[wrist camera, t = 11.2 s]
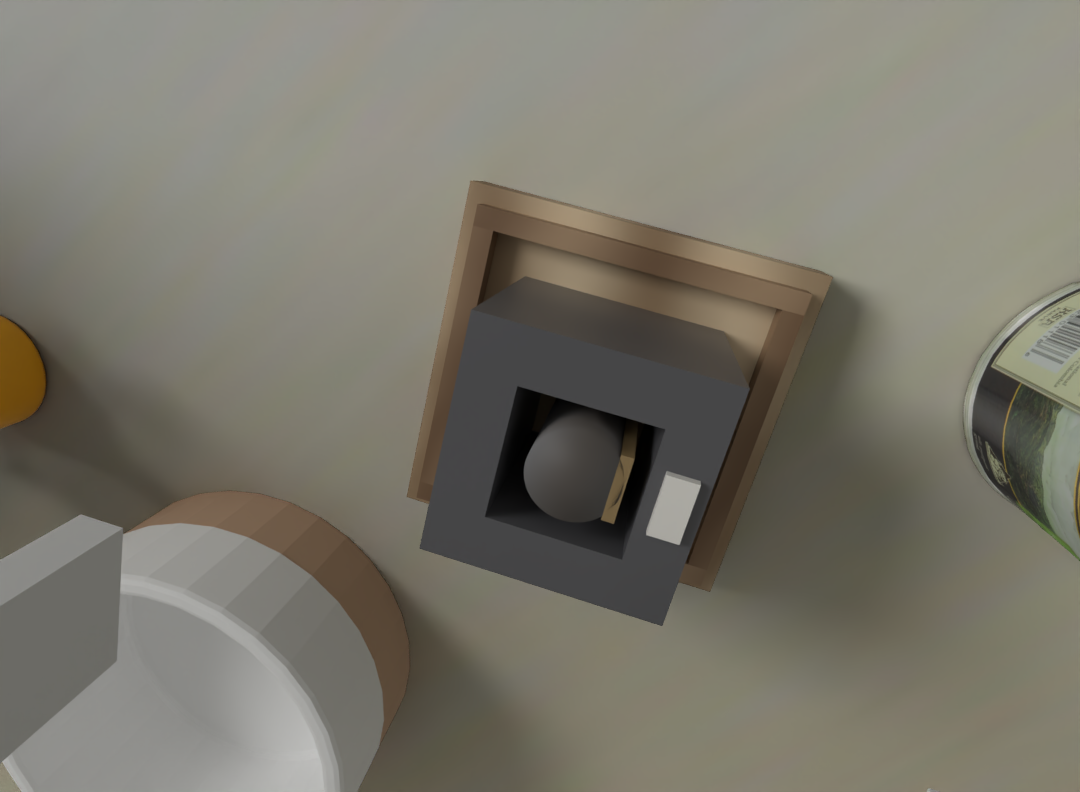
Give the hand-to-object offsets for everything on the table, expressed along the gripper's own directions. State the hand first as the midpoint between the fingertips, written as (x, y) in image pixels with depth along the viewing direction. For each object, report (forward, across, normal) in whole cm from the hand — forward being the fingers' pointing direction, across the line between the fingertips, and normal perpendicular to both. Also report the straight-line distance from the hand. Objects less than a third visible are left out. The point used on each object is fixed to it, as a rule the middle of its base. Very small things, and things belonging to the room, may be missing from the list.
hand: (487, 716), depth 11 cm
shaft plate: (+20, 0, 0) cm, 20 cm away
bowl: (+20, -14, -19) cm, 31 cm away
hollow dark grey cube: (+18, 0, 0) cm, 18 cm away
